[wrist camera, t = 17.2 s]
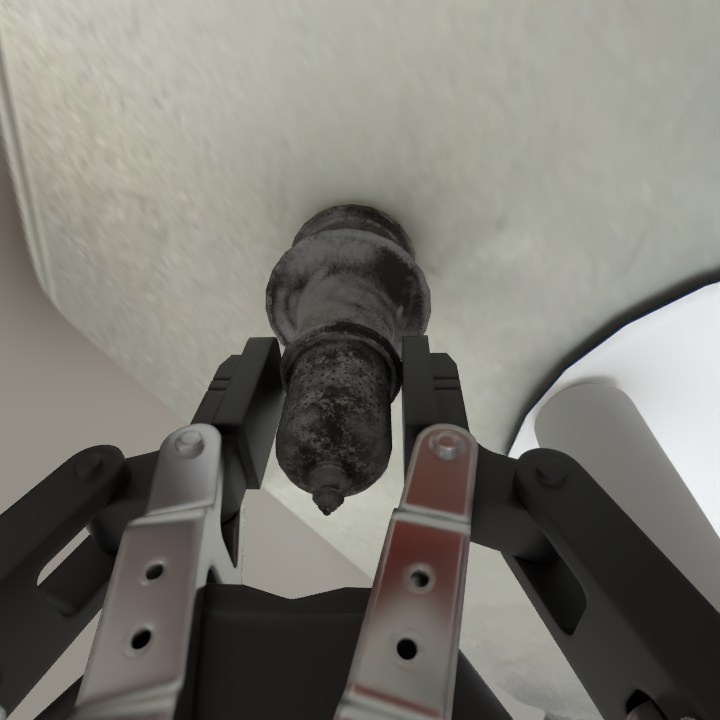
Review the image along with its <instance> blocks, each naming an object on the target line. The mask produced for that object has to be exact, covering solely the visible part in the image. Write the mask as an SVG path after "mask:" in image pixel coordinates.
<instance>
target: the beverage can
mask: <svg viewBox="0 0 720 720" xmlns="http://www.w3.org/2000/svg"><path fill="white" fill-rule="evenodd" d="M534 431H535V435H536V439H537V442H538V445H539V448H549V449H554V450H558V451H561V452H563V453H565V454H567V455H569V456H571V457H572V458H573V459H575V460H576V461H577V462H578V463H579V464H580V465H581V466H582V467H583V468H584V469H585V470H586V471H587V472H588V473H589V474H590V475H591V477H592V478H593V479H594V480H595V481H596V482H597V483H598V484H599V485H600V486H601V487H602V488H603V489H604V490H605V491H606V493H607V494H608V495H609V496H610V497H611V498H612V499H613V500H614V501H615V502H616V503H617V504H618V505H619V506H620V507H621V509H622V510H623V511H624V512H625V513H626V514H627V515H628V516H629V517H630V518H631V519H632V520H633V521H634V522H635V523H636V525H637V526H638V527H639V528H640V529H641V530H642V531H643V532H644V533H645V534H646V535H647V536H648V537H649V538H650V540H651V541H652V542H653V543H654V544H655V545H656V546H657V547H658V548H659V549H660V550H661V551H662V552H663V553H664V554H665V556H666V557H667V558H668V559H669V560H670V561H671V562H672V563H673V564H674V565H675V566H676V567H677V568H678V569H679V570H680V572H681V573H682V574H683V575H684V576H685V577H686V578H687V579H688V580H689V581H690V582H691V583H692V584H693V585H694V586H695V588H696V589H697V590H698V591H699V592H700V593H701V594H702V595H703V596H704V597H705V598H706V599H707V600H708V601H709V602H710V604H711V605H712V606H713V607H714V608H715V609H716V610H717V611H718V612H719V613H720V538H719V536H718V535H717V533H716V531H715V530H714V528H713V527H712V525H711V523H710V522H709V520H708V519H707V517H706V516H705V514H704V512H703V511H702V509H701V508H700V506H699V504H698V503H697V501H696V500H695V498H694V497H693V495H692V493H691V492H690V490H689V489H688V487H687V486H686V484H685V483H684V481H683V480H682V478H681V476H680V475H679V473H678V472H677V470H676V469H675V467H674V466H673V464H672V463H671V461H670V460H669V458H668V456H667V455H666V453H665V452H664V450H663V449H662V447H661V446H660V444H659V443H658V441H657V440H656V438H655V436H654V435H653V433H652V432H651V430H650V428H649V427H648V425H647V424H646V422H645V421H644V419H643V417H642V416H641V414H640V413H639V411H638V409H637V408H636V406H635V404H634V403H633V401H632V400H631V399H630V397H629V396H628V395H627V394H626V393H625V392H623V391H621V390H619V389H617V388H615V387H612V386H607V385H601V384H581V385H577V386H572V387H569V388H567V389H565V390H562V391H560V392H558V393H557V394H555V395H554V396H553V397H551V398H550V399H549V400H548V401H547V402H546V403H545V404H544V405H543V407H542V408H541V409H540V411H539V413H538V415H537V417H536V419H535V425H534Z"/></svg>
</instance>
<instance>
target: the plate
mask: <svg viewBox="0 0 720 720" xmlns="http://www.w3.org/2000/svg"><path fill="white" fill-rule="evenodd" d="M581 384H601V385H607V386H612V387H615V388H617V389H619V390H621V391H623V392H625V393H626V394H627V395H628V396H629V397H630V399H631V400H632V401H633V403H634V404H635V406H636V408H637V409H638V411H639V413H640V414H641V416H642V417H643V419H644V421H645V422H646V424H647V425H648V427H649V428H650V430H651V432H652V433H653V435H654V436H655V438H656V440H657V441H658V443H659V444H660V446H661V447H662V449H663V450H664V452H665V453H666V455H667V456H668V458H669V460H670V461H671V463H672V464H673V466H674V467H675V469H676V470H677V472H678V473H679V475H680V476H681V478H682V480H683V481H684V483H685V484H686V486H687V487H688V489H689V490H690V492H691V493H692V495H693V497H694V498H695V500H696V501H697V503H698V504H699V506H700V508H701V509H702V511H703V512H704V514H705V516H706V517H707V519H708V520H709V522H710V523H711V525H712V527H713V528H714V530H715V531H716V533H717V535H718V536H719V538H720V280H717V281H713V282H710V283H707V284H703V285H701V286H699V287H697V288H695V289H693V290H691V291H689V292H687V293H685V294H683V295H681V296H679V297H677V298H675V299H673V300H671V301H669V302H667V303H665V304H663V305H661V306H659V307H657V308H655V309H653V310H651V311H649V312H647V313H645V314H643V315H641V316H639V317H637V318H635V319H632V320H630V321H628V322H626V323H624V324H623V325H622V326H620V327H619V328H618V329H616V330H615V331H614V332H612V333H611V334H610V335H608V336H607V337H606V338H604V339H603V340H602V341H600V342H599V343H598V344H596V345H595V346H594V347H592V348H591V349H590V350H588V351H587V352H586V353H584V354H583V355H582V356H580V357H579V358H578V359H576V360H575V361H574V362H572V363H571V364H570V365H568V366H567V367H566V368H565V369H564V370H563V371H562V372H561V373H560V374H559V376H558V377H557V378H556V379H555V380H554V381H553V382H552V384H551V385H550V386H549V387H548V388H547V389H546V391H545V392H544V393H543V394H542V395H541V396H540V398H539V399H538V400H537V401H536V402H535V403H534V405H533V406H532V407H531V408H530V409H529V410H528V412H527V413H526V415H525V417H524V419H523V421H522V423H521V426H520V428H519V430H518V432H517V434H516V437H515V439H514V441H513V443H512V445H511V448H510V450H509V452H508V454H507V457H511V458H515V459H519V457H520V456H521V455H522V454H523V453H524V452H526V451H528V450H531V449H535V448H539V445H538V442H537V439H536V435H535V431H534V425H535V419H536V417H537V415H538V413H539V411H540V409H541V408H542V407H543V405H544V404H545V403H546V402H547V401H548V400H549V399H550V398H551V397H553V396H554V395H555V394H557V393H558V392H560V391H562V390H565V389H567V388H569V387H572V386H577V385H581Z"/></svg>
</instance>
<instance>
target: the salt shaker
mask: <svg viewBox="0 0 720 720" xmlns="http://www.w3.org/2000/svg"><path fill="white" fill-rule="evenodd" d="M266 312H267V315H268V319H269V322H270V326H271V328H272V330H273V331H274V333H275V335H276V336H277V338H278V340H279V341H280V343H281V344H282V345H283V346H284V347H285V351H284V353H283V356H282V358H281V361H280V377H281V382H282V386H283V389H284V391H285V392H286V397H285V401H284V405H283V409H282V413H281V417H280V421H279V425H278V429H277V433H276V457H277V460H278V463H279V466H280V467H281V469H282V470H283V471H284V473H285V474H286V475H287V477H288V478H289V480H290V481H291V482H292V483H294V484H295V485H296V486H297V487H298V488H300V489H302V490H304V491H306V492H308V493H311V494H313V498H312V499H313V501H314V502H315V504H316V505H318V508H319V509H320V510H321V511H322V512H323V514H324V515H326V516H328V515H330V514H331V512H333V511H335V510H336V509H337V507H339V506H340V505H341V504H343V502H344V497H347V496H351V495H355V494H358V493H360V492H362V491H364V490H366V489H368V488H369V487H370V486H371V485H372V484H374V483H375V482H376V481H377V480H378V479H379V478H380V477H381V476H382V475H383V473H384V472H385V470H386V469H387V466H388V462H389V459H390V455H391V451H392V430H391V403H392V402H393V401H394V399H395V398H396V396H397V395H398V393H399V391H400V388H401V384H402V362H401V360H402V336H423V334H424V333H425V331H426V329H427V325H428V321H429V317H430V313H431V302H430V290H429V287H428V285H427V282H426V279H425V276H424V273H423V271H422V270H421V269H420V267H419V266H418V265H417V263H416V262H415V253H414V250H413V247H412V244H411V242H410V239H409V237H408V236H407V234H406V233H405V232H404V230H403V229H402V228H401V226H400V225H399V224H398V223H397V222H395V221H394V220H393V219H392V218H390V217H389V216H388V215H387V214H385V213H383V212H380V211H378V210H376V209H373V208H371V207H367V206H360V205H353V204H350V205H342V206H334V207H332V208H329V209H327V210H324V211H322V212H319V213H318V214H316V215H315V216H314V217H312V218H311V219H310V220H309V221H307V222H306V223H305V224H304V225H303V227H302V228H301V229H300V231H299V232H298V234H297V235H296V236H295V239H294V242H293V245H292V248H290V249H289V250H288V251H287V252H285V253H284V255H283V256H282V257H281V259H280V260H279V262H278V263H277V264H276V266H275V267H274V269H273V270H272V273H271V276H270V279H269V282H268V285H267V288H266Z"/></svg>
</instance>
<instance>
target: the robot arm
mask: <svg viewBox="0 0 720 720" xmlns="http://www.w3.org/2000/svg"><path fill="white" fill-rule="evenodd" d="M280 361H281V353H280V348H279V343H278V340H277V338H276V337H253V338H249V339H248V341H247V343H246V346H245V348H244V350H243V352H242V355H231V356H230V357H229V358H228V359H227V360H226V361H224V362H223V363H222V364H221V365H220V366H219V368H218V370H217V372H216V374H215V376H214V378H213V381H212V382H211V384H210V386H209V388H208V391H207V392H206V394H205V396H204V398H203V400H202V402H201V404H200V406H199V408H198V410H197V412H196V414H195V416H194V418H193V420H192V422H191V424H190V425H187V426H185V427H182V428H180V429H178V430H176V431H174V432H173V433H171V434H170V435H169V436H168V437H167V438H166V439H165V440H164V441H163V443H162V445H161V447H160V450H158V451H155V452H151V453H147V454H143V455H139V456H135V457H130V458H126V459H125V457H124V455H123V453H122V452H121V450H120V449H119V448H117V447H115V446H112V445H99V446H93V447H90V448H87V449H84V450H83V451H80V452H78V453H77V454H75V455H73V456H72V457H71V458H69V459H68V460H67V461H66V462H65V463H63V464H62V465H61V466H60V467H59V468H57V469H56V470H55V471H53V472H52V473H51V474H50V475H49V476H47V477H46V478H45V479H44V480H43V481H41V482H40V483H39V484H38V485H37V486H35V487H34V488H33V489H31V490H30V491H29V492H28V493H27V494H25V495H24V496H23V497H22V498H21V499H19V500H18V501H17V502H16V503H14V504H13V505H12V506H11V507H10V508H8V509H7V510H6V511H5V512H3V513H2V514H1V515H0V720H6V719H7V717H8V716H9V715H10V714H11V713H12V712H13V710H14V709H15V708H16V707H17V706H18V705H19V704H20V702H21V701H22V700H23V699H24V698H25V697H26V695H27V694H28V693H29V692H30V690H31V689H32V688H33V687H34V686H35V685H36V684H37V683H38V681H39V680H40V679H41V678H42V677H43V676H44V674H45V673H46V672H47V671H48V670H49V669H50V668H51V666H52V665H53V664H54V663H55V662H56V661H57V659H58V658H59V657H60V656H61V655H62V654H63V652H64V651H65V650H66V649H67V648H68V646H69V645H70V644H71V643H72V642H73V641H74V639H75V638H76V637H77V636H78V635H79V634H80V632H81V631H82V630H83V629H84V628H85V627H86V626H87V624H88V623H89V622H90V621H91V620H92V619H93V618H94V616H95V615H96V614H97V613H98V612H99V610H100V609H101V608H102V607H103V608H102V611H101V615H100V619H99V622H98V626H97V629H96V633H95V637H94V640H93V644H92V648H91V651H90V654H89V658H88V662H87V666H86V669H85V672H84V674H83V675H82V676H81V677H80V678H79V679H78V680H77V681H76V682H74V683H73V684H72V685H71V686H70V687H69V688H68V689H67V690H66V691H65V692H63V693H62V694H61V695H60V696H59V697H58V698H57V699H56V700H55V701H54V702H52V703H51V704H50V705H49V706H48V707H47V708H46V709H45V710H43V711H42V712H41V713H40V714H39V715H38V716H37V717H36V718H35V719H34V720H513V718H512V717H511V716H510V715H509V713H508V712H507V711H506V709H505V708H504V707H503V705H502V704H501V703H500V701H499V700H498V699H497V697H496V696H495V695H494V693H493V692H492V691H491V690H490V688H489V687H488V686H487V684H486V683H485V682H484V680H483V679H482V678H481V676H480V675H479V674H478V672H477V671H476V670H475V669H474V667H473V666H472V665H471V663H470V662H469V661H468V659H467V658H466V657H465V655H464V654H463V653H462V651H461V650H460V649H459V640H460V630H461V621H462V611H463V602H464V592H465V582H466V573H467V563H468V553H469V544H470V541H471V542H474V543H477V544H480V545H483V546H486V547H489V548H492V549H495V550H498V551H501V554H502V556H503V557H504V559H505V561H506V562H507V564H508V566H509V567H510V569H511V570H512V572H513V574H514V575H515V577H516V578H517V580H518V582H519V583H520V585H521V587H522V588H523V590H524V591H525V593H526V595H527V596H528V598H529V599H530V601H531V603H532V604H533V606H534V607H535V609H536V611H537V612H538V614H539V615H540V617H541V619H542V620H543V622H544V624H545V625H546V627H547V628H548V630H549V632H550V633H551V635H552V636H553V638H554V640H555V641H556V643H557V644H558V646H559V648H560V649H561V651H562V652H563V654H564V656H565V657H566V659H567V661H568V662H569V664H570V665H571V667H572V669H573V670H574V672H575V673H576V675H577V677H578V678H579V680H580V681H581V683H582V685H583V686H584V688H585V690H586V691H587V693H588V694H589V696H590V698H591V699H592V701H593V702H594V704H595V706H596V707H597V709H598V710H599V712H600V714H601V715H602V717H603V718H604V720H720V613H719V612H718V611H717V610H716V609H715V608H714V607H713V606H712V605H711V604H710V602H709V601H708V600H707V599H706V598H705V597H704V596H703V595H702V594H701V593H700V592H699V591H698V590H697V589H696V588H695V586H694V585H693V584H692V583H691V582H690V581H689V580H688V579H687V578H686V577H685V576H684V575H683V574H682V573H681V572H680V570H679V569H678V568H677V567H676V566H675V565H674V564H673V563H672V562H671V561H670V560H669V559H668V558H667V557H666V556H665V554H664V553H663V552H662V551H661V550H660V549H659V548H658V547H657V546H656V545H655V544H654V543H653V542H652V541H651V540H650V538H649V537H648V536H647V535H646V534H645V533H644V532H643V531H642V530H641V529H640V528H639V527H638V526H637V525H636V523H635V522H634V521H633V520H632V519H631V518H630V517H629V516H628V515H627V514H626V513H625V512H624V511H623V510H622V509H621V507H620V506H619V505H618V504H617V503H616V502H615V501H614V500H613V499H612V498H611V497H610V496H609V495H608V494H607V493H606V491H605V490H604V489H603V488H602V487H601V486H600V485H599V484H598V483H597V482H596V481H595V480H594V479H593V478H592V477H591V475H590V474H589V473H588V472H587V471H586V470H585V469H584V468H583V467H582V466H581V465H580V464H579V463H578V462H577V461H576V460H575V459H573V458H572V457H571V456H569V455H567V454H565V453H563V452H561V451H558V450H554V449H549V448H535V449H531V450H528V451H526V452H524V453H523V454H522V455H521V456H520V457H519V459H515V458H511V457H507V456H504V455H500V454H497V453H494V452H491V451H489V450H487V449H486V448H484V447H482V446H481V445H480V444H479V443H477V441H476V439H475V438H474V437H473V435H472V434H471V433H470V431H469V427H468V421H467V416H466V411H465V406H464V401H463V395H462V390H461V385H460V380H459V375H458V370H457V364H456V363H455V362H454V361H453V360H452V358H451V357H450V356H449V355H448V354H447V353H430V351H429V343H428V336H427V335H424V336H402V425H403V461H404V488H403V492H402V496H401V500H400V503H399V507H398V508H395V509H394V510H393V512H392V515H391V518H390V522H389V526H388V530H387V533H386V537H385V541H384V545H383V548H382V552H381V556H380V560H379V563H378V567H377V571H376V575H375V578H374V582H373V586H372V588H353V587H352V588H351V587H345V588H340V589H336V590H332V591H328V592H323V593H319V594H315V595H310V596H306V597H302V598H297V599H287V598H284V597H280V596H277V595H274V594H271V593H268V592H265V591H262V590H258V589H255V588H252V587H249V586H246V585H243V584H242V559H243V558H242V557H243V534H244V507H243V503H242V500H243V498H244V494H245V491H246V489H260V487H261V484H262V480H263V477H264V473H265V469H266V466H267V462H268V459H269V455H270V452H271V448H272V444H273V441H274V437H275V434H276V430H277V427H278V423H279V420H280V416H281V412H282V409H283V405H284V401H285V396H286V392H285V391H284V389H283V386H282V382H281V377H280ZM84 527H86V529H87V530H88V532H89V533H90V535H89V536H88V537H87V538H86V539H85V540H84V541H83V542H82V543H81V544H80V545H79V546H78V547H77V548H76V549H75V550H74V551H73V552H72V553H71V554H70V555H69V556H68V557H67V558H66V559H65V560H64V561H63V562H62V563H61V564H60V565H59V566H58V567H57V568H56V569H55V570H54V571H53V572H52V573H51V574H50V575H49V576H48V577H47V578H46V579H45V580H44V581H43V582H42V583H41V584H40V585H39V586H37V580H38V576H39V574H40V572H41V570H42V569H43V568H44V566H45V565H46V564H47V563H48V562H49V561H50V560H51V559H52V558H53V557H55V555H56V554H58V553H59V552H60V550H62V549H63V548H64V547H65V546H66V545H67V544H68V543H69V542H70V541H71V540H72V539H73V538H74V537H75V536H76V535H77V534H78V533H79V532H80V531H81V530H82V529H83V528H84Z"/></svg>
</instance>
